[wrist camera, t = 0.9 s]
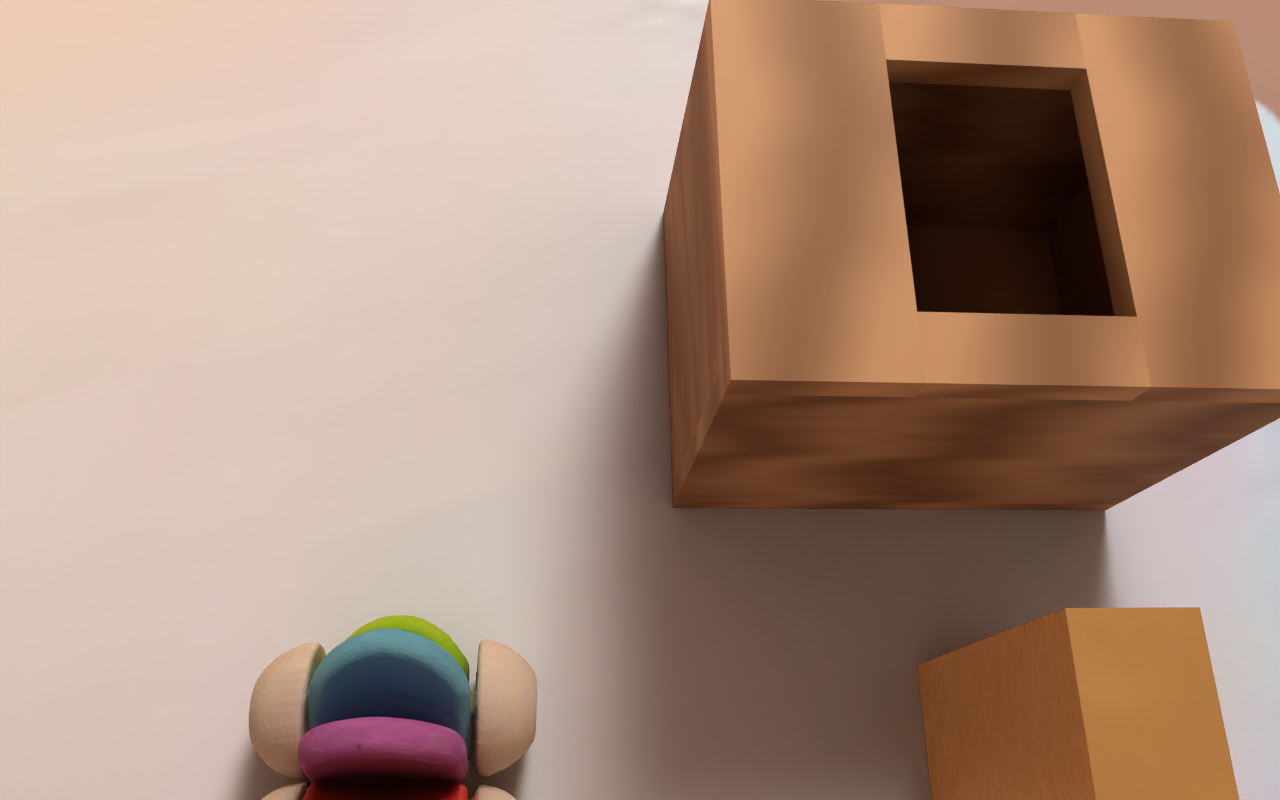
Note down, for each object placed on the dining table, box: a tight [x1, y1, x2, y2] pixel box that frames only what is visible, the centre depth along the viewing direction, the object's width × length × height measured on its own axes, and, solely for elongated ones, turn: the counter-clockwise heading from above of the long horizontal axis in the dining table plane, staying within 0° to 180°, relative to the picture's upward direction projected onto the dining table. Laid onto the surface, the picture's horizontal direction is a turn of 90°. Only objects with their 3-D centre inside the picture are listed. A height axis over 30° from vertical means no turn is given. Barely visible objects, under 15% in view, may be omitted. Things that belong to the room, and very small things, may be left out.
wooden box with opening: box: [664, 0, 1280, 510], centre depth 35 cm, size 16×12×12 cm
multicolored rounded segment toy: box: [249, 616, 537, 800], centre depth 31 cm, size 8×10×7 cm
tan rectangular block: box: [917, 608, 1239, 800], centre depth 31 cm, size 4×5×11 cm
